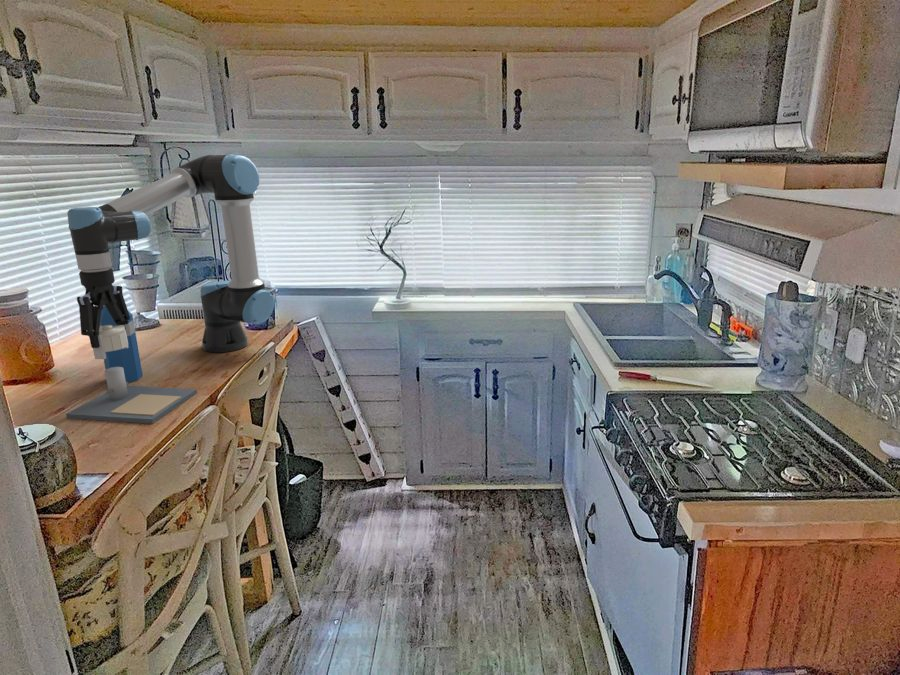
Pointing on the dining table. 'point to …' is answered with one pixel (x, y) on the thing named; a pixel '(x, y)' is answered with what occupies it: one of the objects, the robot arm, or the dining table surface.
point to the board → (131, 401)
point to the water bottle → (123, 350)
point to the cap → (113, 337)
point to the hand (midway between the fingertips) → (112, 353)
